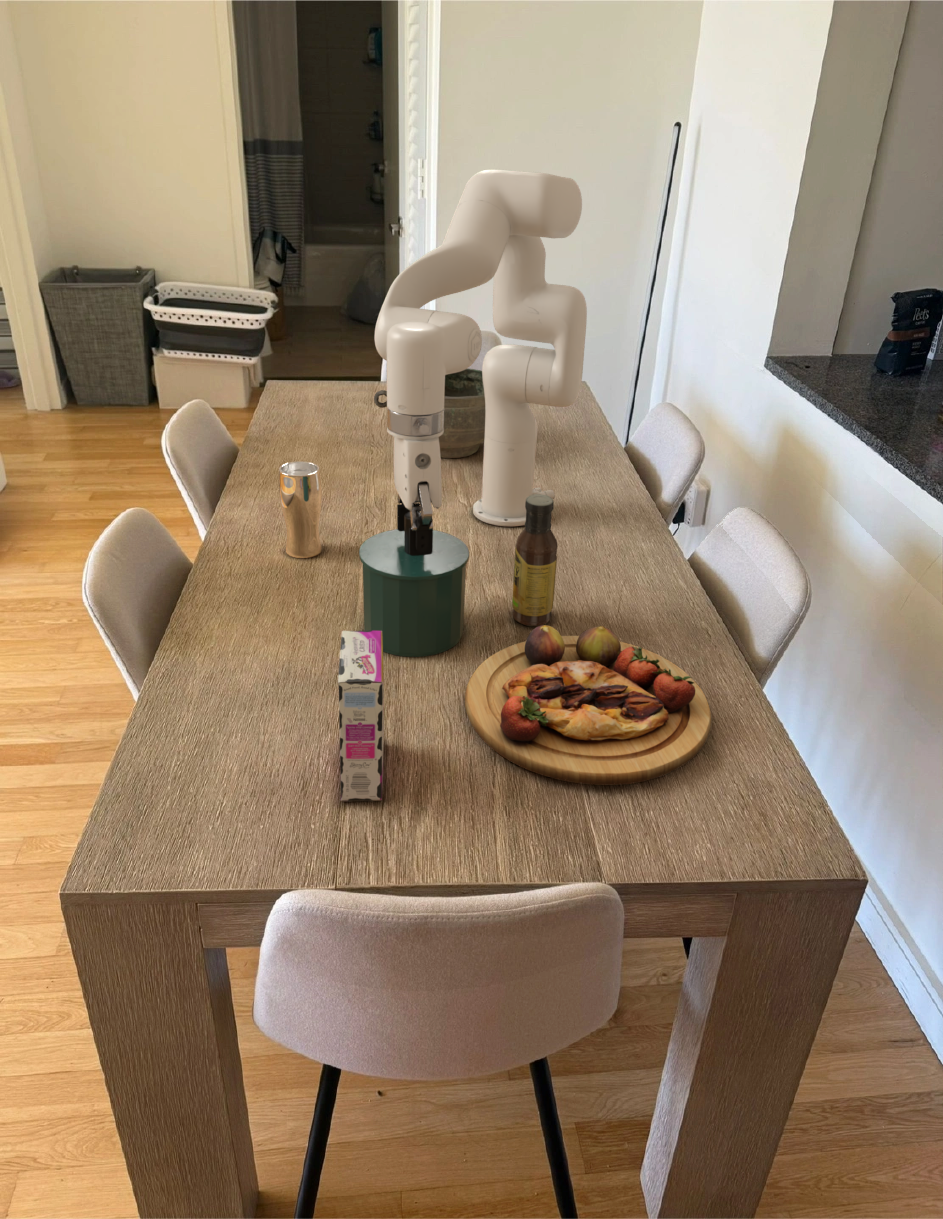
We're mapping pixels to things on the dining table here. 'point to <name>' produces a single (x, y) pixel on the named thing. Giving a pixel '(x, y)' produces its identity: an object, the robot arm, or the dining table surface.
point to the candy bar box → (361, 715)
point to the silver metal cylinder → (301, 507)
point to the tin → (415, 612)
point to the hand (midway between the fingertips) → (414, 541)
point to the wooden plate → (587, 708)
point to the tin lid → (394, 560)
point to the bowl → (459, 413)
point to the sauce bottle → (535, 564)
